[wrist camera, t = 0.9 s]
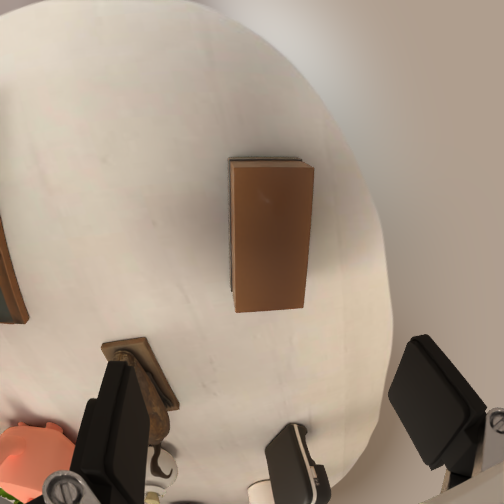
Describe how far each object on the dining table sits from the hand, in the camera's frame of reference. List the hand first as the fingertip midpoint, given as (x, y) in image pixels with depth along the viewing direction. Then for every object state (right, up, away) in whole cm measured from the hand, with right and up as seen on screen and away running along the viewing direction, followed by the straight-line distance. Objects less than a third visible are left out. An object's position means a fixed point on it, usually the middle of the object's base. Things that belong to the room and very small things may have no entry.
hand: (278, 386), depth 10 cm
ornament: (-13, -22, +25) cm, 35 cm away
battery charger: (+4, -19, +26) cm, 32 cm away
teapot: (-29, -22, +23) cm, 43 cm away
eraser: (0, +6, +14) cm, 15 cm away
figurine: (-11, -10, +20) cm, 25 cm away
